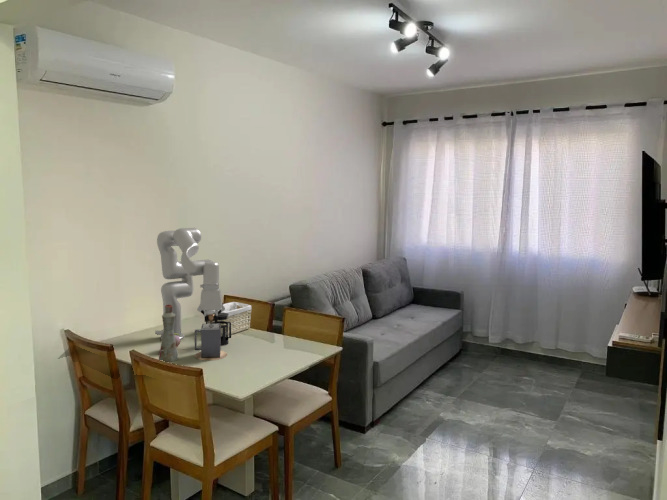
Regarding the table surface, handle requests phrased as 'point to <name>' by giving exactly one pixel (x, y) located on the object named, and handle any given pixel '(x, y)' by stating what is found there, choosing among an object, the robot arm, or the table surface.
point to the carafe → (209, 340)
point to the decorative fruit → (177, 339)
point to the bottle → (168, 337)
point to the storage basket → (236, 316)
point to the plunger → (211, 318)
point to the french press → (224, 328)
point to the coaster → (222, 355)
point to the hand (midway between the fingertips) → (211, 322)
